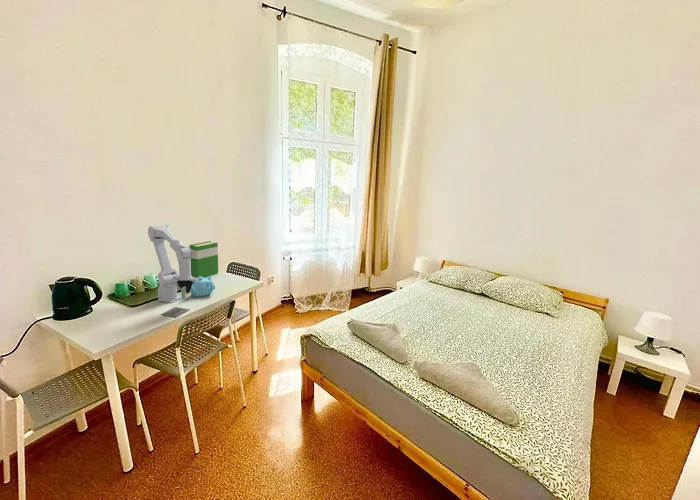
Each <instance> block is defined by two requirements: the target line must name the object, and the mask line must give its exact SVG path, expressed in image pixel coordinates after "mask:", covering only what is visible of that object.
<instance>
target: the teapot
mask: <svg viewBox="0 0 700 500" xmlns="http://www.w3.org/2000/svg"><path fill="white" fill-rule="evenodd" d="M211 280H212V276H208V277H206V278H203V277H198V282H196V283H195V282H194V283H193V284H192V286H191V296H192V297H196V298H199V297H200V298H201V297H207V296H209V295H210V294H212V292H213V291H214V290H215V289H216V286H215V282H214V280H212V281H211Z"/></svg>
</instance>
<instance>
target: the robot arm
mask: <svg viewBox="0 0 700 500" xmlns="http://www.w3.org/2000/svg"><path fill="white" fill-rule="evenodd" d="M171 230H172V229H171V227H170V226H169V225H168V224H163V225H151V226H148V229H147V235H148V237H149V241H150V242H151V243H153V246H154V249H155V253H156V256H157V259H158V263H159V267H160V271H159V273H158V274H157V280H158V284H159V286H158V288H157V296H158V299H157V301H159V302H165V303H170V304H171V303H173V302H176V301H177V300H180V299H182V296H178V286H179V289H181V288H183V287H186V293H187V294H188V293H190V290H191V286H192V284H193V283H194V282H195V283H196V282H198V278H195V277H192V276H191V261H190V257H192V255H193V253H192V250H191V248H190V247H189V246H186V245H184V243H182V241H181V240H180V239H178V238H177V239H176V238H175V236H174V235H173V234H172V231H171ZM165 241H167V242H168V243H169V247H170V248H171V249H172V250H173V251H174V252H175V256H176V260H177V262H178V271H177V270H176V269H174V268H172V265H171V263H170V259H169V256H168V255H169V254H168V252H167V250H166V246H165Z"/></svg>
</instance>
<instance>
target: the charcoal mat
mask: <svg viewBox="0 0 700 500" xmlns="http://www.w3.org/2000/svg"><path fill="white" fill-rule="evenodd" d="M189 311H190V308H183V307H178V306H174V307H172V308H171V309H169V310H166V311H165V312H163V313H160V314H161V316H165V317H172V318H178V317H180V316H182V315H183V314H185V313H187V312H189Z"/></svg>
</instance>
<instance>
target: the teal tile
mask: <svg viewBox="0 0 700 500" xmlns="http://www.w3.org/2000/svg"><path fill="white" fill-rule="evenodd" d="M180 291H181V293H180V294H181V299H183V300H186V299H188V298H190V297H191V296H192V295H191V290H190V293H188V294H187V293H186V287H183V288H180Z"/></svg>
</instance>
